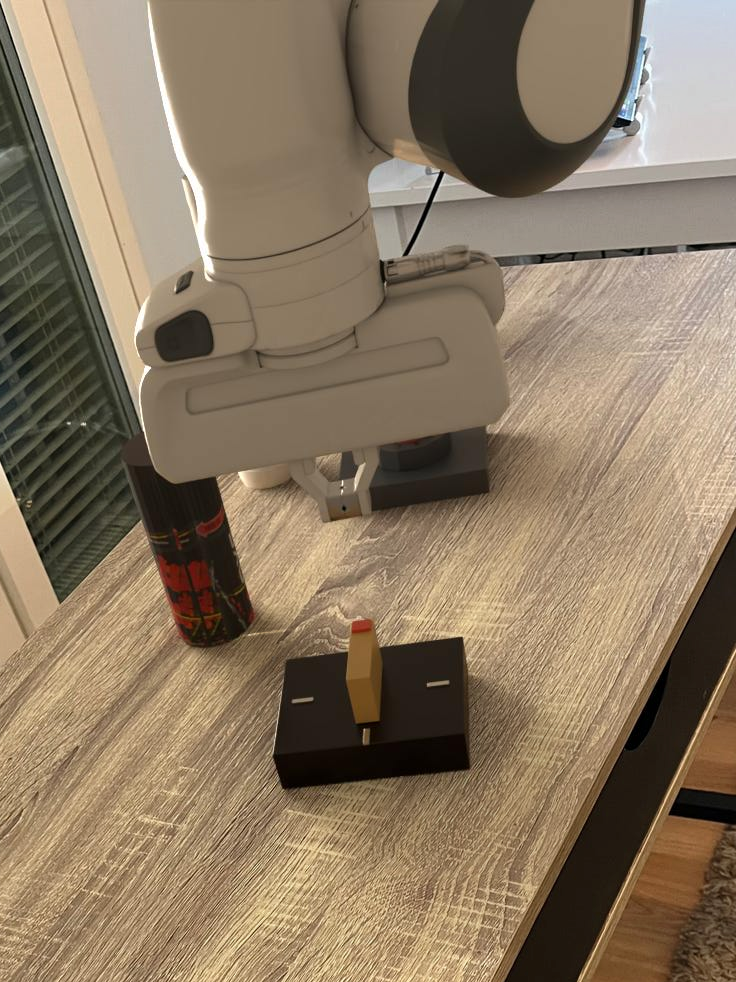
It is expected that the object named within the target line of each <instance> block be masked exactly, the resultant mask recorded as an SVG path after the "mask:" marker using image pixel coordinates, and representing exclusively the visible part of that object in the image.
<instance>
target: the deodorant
mask: <svg viewBox="0 0 736 982" xmlns="http://www.w3.org/2000/svg"><path fill="white" fill-rule="evenodd" d="M119 457H120V459H121V463H122V465H123V469H124V472H125V475H126V478H127V481H128V484H129V487H130V490H131V492H132V497H133V499H134V502H135V505H136V508H137V510H138V514H139V517H140V520H141V523H142V526H143V530H144V532H145V535H146V538H147V542H148V544H149V547H150V551H151V553H152V556H153V560H154V563H155V565H156V568H157V571H158V574H159V577H160V581H161V584H162V587H163V589H164V593H165V595H166V598H167V602H168V604H169V608H170V611H171V613H172V617H173V620H174V623H175V627H176V628H177V632H178V635H179V637H180V639H181V640H182V641H183V642H184V643H185V644H188V645H189V646H192V647H196V648H197V647H198V648H211V647H217V646H221V645H223V644H227V643H230V642H232V641H234V640H235V639H238V638H239V637H241V636H242V634H244V633H245V632H246V631H247V630H248V629H249V627H251V625H252V623H253V621H254V618H255V613H254V608H253V605H252V601H251V598H250V595H249V591H248V586H247V583H246V581H245V576H244V573H243V569H242V566H241V562H240V558H239V554H238V552H237V548H236V544H235V540H234V537H233V533H232V530H231V526H230V523H229V520H228V519H229V518H228V516H227V512H226V509H225V505H224V501H223V497H222V494H221V490H220V488H219V483H218V480H217V476H215V477H210V478H204V479H199V480H194V481H189V482H184V483H178V484H174V483H171V482H170V481H168V480H167V479H165V478H164V477H163V476H161V475H160V474H159V473H158V472H157V471H156V470H155V468H154V466H153V463H152V460H151V456H150V453H149V449H148V445H147V441H146V437H145V432H144V430H143V431H141V432H139V433H137V434H136V435H134V436H133V437H131V438H130V439H129V440H128V441H127V442H125V443H124V445H123V446H122V447H121V449H120V453H119Z"/></svg>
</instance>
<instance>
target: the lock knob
mask: <svg viewBox="0 0 736 982" xmlns="http://www.w3.org/2000/svg"><path fill="white" fill-rule="evenodd" d="M348 639H349V642H348V663H347V674H346V682H347V687H348V691H349V695H350V700H351V704H352V708H353V713H354V717H355V721H356V724H358V723H366V722H375V721H379V720H380V701H381V683H382V664H383V663H382V658H381V653H380V649H379V647H380V644H379V639H378V635H377V629H376V623H375V621H374V620H373V619H371V618H367V619H359V620H352V622H351V623H350V628H349V638H348Z"/></svg>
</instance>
